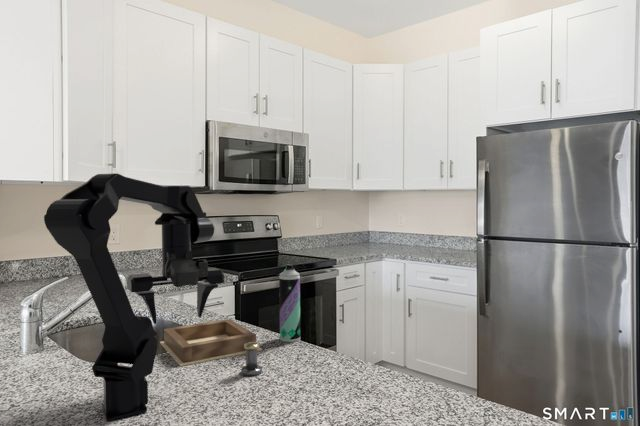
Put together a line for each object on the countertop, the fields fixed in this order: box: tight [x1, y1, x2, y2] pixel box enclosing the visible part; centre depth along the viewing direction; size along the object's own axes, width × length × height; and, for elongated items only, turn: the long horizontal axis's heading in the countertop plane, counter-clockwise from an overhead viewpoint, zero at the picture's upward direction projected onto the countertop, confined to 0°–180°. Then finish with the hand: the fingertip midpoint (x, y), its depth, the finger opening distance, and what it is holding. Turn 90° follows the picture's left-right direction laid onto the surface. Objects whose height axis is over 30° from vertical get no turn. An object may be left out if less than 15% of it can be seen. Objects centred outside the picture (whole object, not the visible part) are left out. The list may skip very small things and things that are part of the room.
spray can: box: [278, 264, 301, 343], centre depth 119 cm, size 6×6×20 cm
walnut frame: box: [163, 318, 257, 363], centre depth 113 cm, size 18×18×4 cm
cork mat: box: [159, 334, 263, 367], centre depth 114 cm, size 20×20×1 cm
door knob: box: [240, 341, 263, 377], centre depth 96 cm, size 4×4×6 cm
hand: (177, 320), depth 93 cm, fingers open, 9 cm apart
